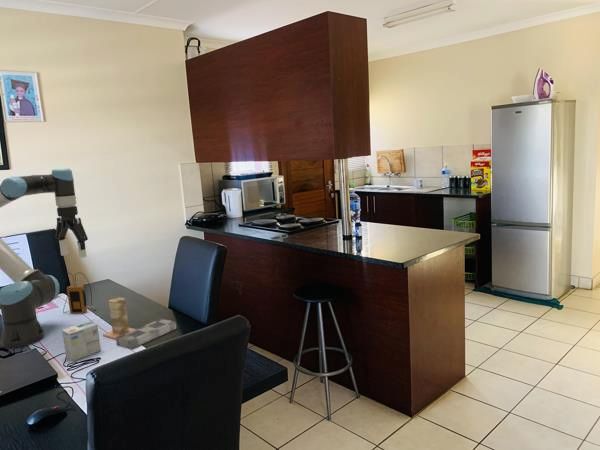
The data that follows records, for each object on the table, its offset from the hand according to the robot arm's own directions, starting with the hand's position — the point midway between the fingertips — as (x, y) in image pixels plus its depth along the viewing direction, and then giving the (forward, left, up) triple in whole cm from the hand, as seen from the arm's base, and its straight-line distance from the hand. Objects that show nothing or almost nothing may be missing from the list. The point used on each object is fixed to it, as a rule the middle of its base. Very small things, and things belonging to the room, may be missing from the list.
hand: (73, 256), depth 192 cm
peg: (+3, -22, -31) cm, 38 cm away
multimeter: (+14, +23, -32) cm, 42 cm away
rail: (+6, -35, -32) cm, 48 cm away
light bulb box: (-16, -26, -32) cm, 44 cm away
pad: (+3, -22, -32) cm, 39 cm away
